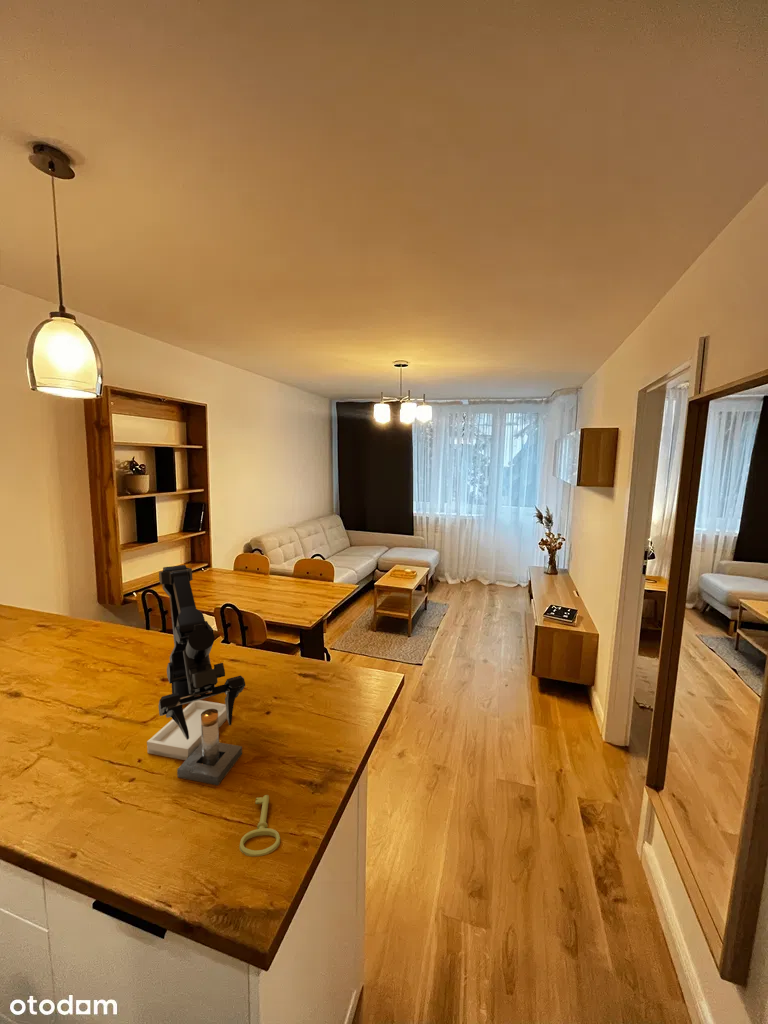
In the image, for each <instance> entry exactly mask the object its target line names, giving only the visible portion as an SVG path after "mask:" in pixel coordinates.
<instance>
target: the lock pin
mask: <svg viewBox="0 0 768 1024" xmlns="http://www.w3.org/2000/svg"><path fill="white" fill-rule="evenodd" d="M201 731H202V760H203V763H202V764H205V765H210V766H215V764H216V763H217V762H218V761H219V760H220V759H219V742H220V737H219V736H220V735H219V733H220V731H219V728H218V711H217V710H216V709H208V710H205V711H204V712H202V714H201Z"/></svg>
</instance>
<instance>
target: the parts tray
mask: <svg viewBox="0 0 768 1024" xmlns="http://www.w3.org/2000/svg"><path fill="white" fill-rule="evenodd" d="M208 709H216V710H217V711H218V729H220V727H221V726H222V725H223V724H224V723H225V722H226V721H228V720H227V713H226V705H225V703H219V702H213V701H207V700H203V699H200V700H197V701H193V702H190V703H188V705H187V706H186V707H184V708H183V714H184V717H185V721H186V725H187V728H188V733H189V739H188V740H187V739H186V737H185V736H184V734H183V732H182V731H181V729H180V728H179V726H178V725H177V723H176V722H175V721H174V720H173V719H170V721H169V722H168V723H166V724H165V725H164V726H163V727H162V728H161V729H159V730H158V731H157V732H156V733H155V734H154V735H152V737H150V739H148V740H147V741H146V746H147V748H146V749H147V754H151V755H156V756H160V757H161V756H162V757H167V758H172V759H178V760H182V761H185V760H186V759H187V758H188V757H189V756H190V755H191V754H192V753H193V752H194V751H195V750H196V749H197V748H198V747H199V746H200V744H201V743H202V731H201V714H202V712H204V711H205V710H208Z"/></svg>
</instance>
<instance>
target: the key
mask: <svg viewBox="0 0 768 1024" xmlns="http://www.w3.org/2000/svg"><path fill="white" fill-rule="evenodd" d="M269 802H270V795H269V794H265V795H263V797H260V796H259V797H256V798H255V805H259V804H261V805H262V806H261V810H260V811H261V812H260V817H259V822H258V823H257V826H256V829H253V830H250V831H248V832H247V833H245V834H244V835H243V836H242V837H241V839H240V842H239V848H238V849H239V851H240V852H242V854H243V853H244V854H245V855H244V854H243V855H244V856H247V857H262V856H266V855H268V854H271V853H273V852H274V851H276V850H277V849H278V848H279V846H280V844H281V837H280V834H279V832H278V831H277V830H276V829H273V828H271V827H270V828H268V826H269V825H268V823H267V817H268V810H269V809H268V808H269ZM259 836H271V837H274V838H275V842H274V843H273V844H271V845H270V846H269V847H266V848H264V849H258V850H254V849H250V848H248V847H245V843H246V842H247V841H249V840H250V839H251V838H252V839H253V838H255V837H259Z"/></svg>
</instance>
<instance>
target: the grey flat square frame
mask: <svg viewBox="0 0 768 1024" xmlns="http://www.w3.org/2000/svg"><path fill="white" fill-rule="evenodd" d="M242 755H243V746H241V745H235V744H232V743H226V742H220V741H219V761H218V762H217V763H216V764H215V766H210V765H205V764H203V760H202V743H201V744H200V746H199V747H198V748H197V749H196V750H195V751H194V752H193V753H192V754H191V755H190V756H189V757H188V758H187V759H186V760H184V761H183V762H182V764H181V765H179V767H178V768H177V770H176V771H177V778H178V779H179V778H180V779H183V780H188V781H194V782H199V783H203V784H209V785H215V786H219V785H220V784H221V783H222V781H223V779H225V777H226V776H227V775H228V773H229V772H230V771H231V770H232V768H233V767H234V765H235V764H237V762H238V760H239V759H240V758H241V756H242Z"/></svg>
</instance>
